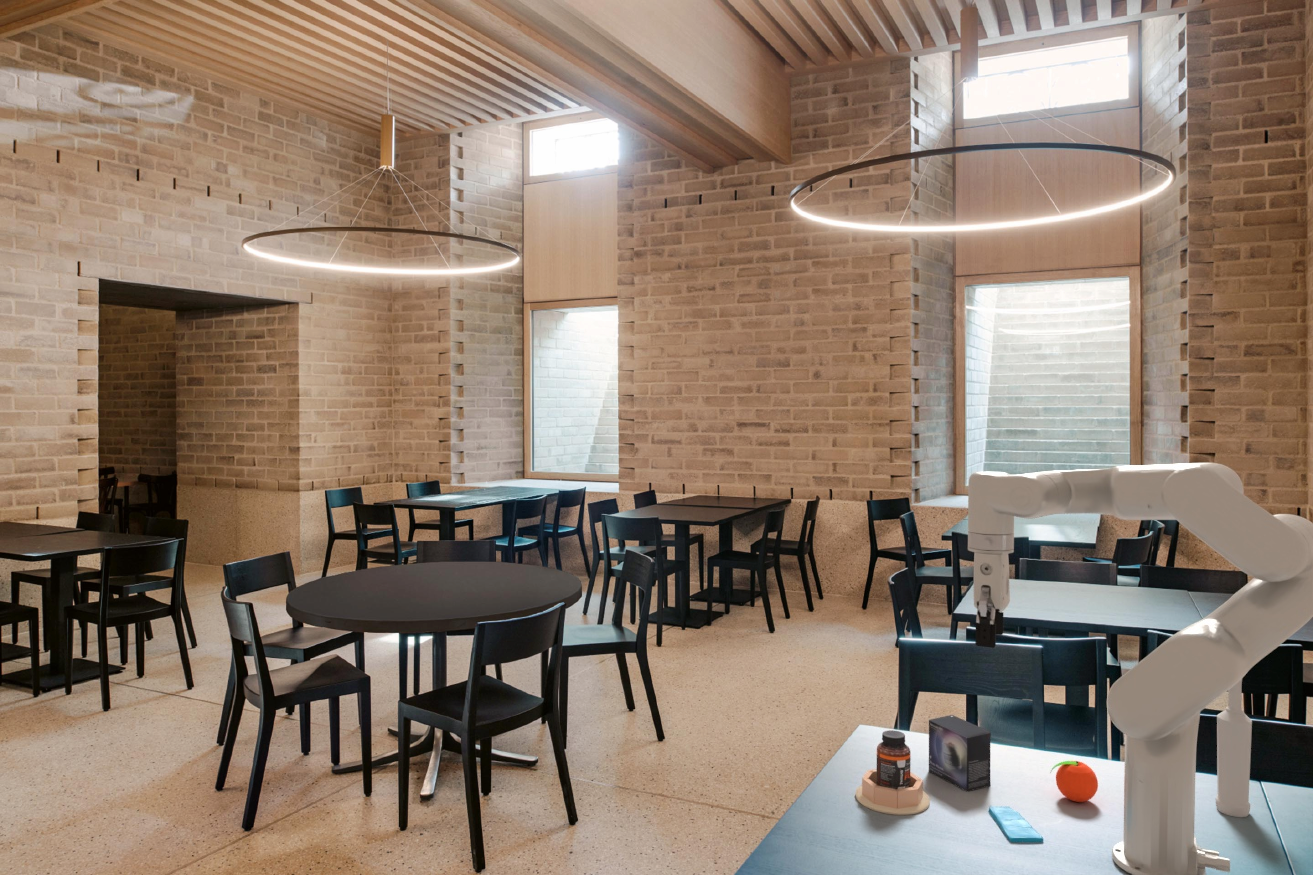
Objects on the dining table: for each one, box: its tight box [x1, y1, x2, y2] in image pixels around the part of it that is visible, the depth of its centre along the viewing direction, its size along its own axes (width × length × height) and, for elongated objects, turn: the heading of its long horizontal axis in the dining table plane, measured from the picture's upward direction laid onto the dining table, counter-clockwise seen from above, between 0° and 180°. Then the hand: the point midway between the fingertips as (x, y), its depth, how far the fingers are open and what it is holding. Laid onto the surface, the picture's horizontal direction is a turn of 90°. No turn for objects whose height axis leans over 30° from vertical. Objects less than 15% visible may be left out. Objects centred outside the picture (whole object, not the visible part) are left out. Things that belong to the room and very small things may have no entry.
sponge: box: [988, 805, 1044, 844], centre depth 153 cm, size 2×12×6 cm
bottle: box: [1215, 678, 1253, 818], centre depth 158 cm, size 5×5×25 cm
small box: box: [928, 714, 992, 792], centre depth 172 cm, size 11×6×10 cm, turn 25°
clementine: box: [1049, 760, 1099, 803], centre depth 163 cm, size 8×7×7 cm
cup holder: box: [855, 768, 931, 816], centre depth 163 cm, size 13×13×4 cm
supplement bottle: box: [876, 729, 912, 789], centre depth 163 cm, size 6×6×11 cm
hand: (989, 639), depth 157 cm, fingers open, 9 cm apart
